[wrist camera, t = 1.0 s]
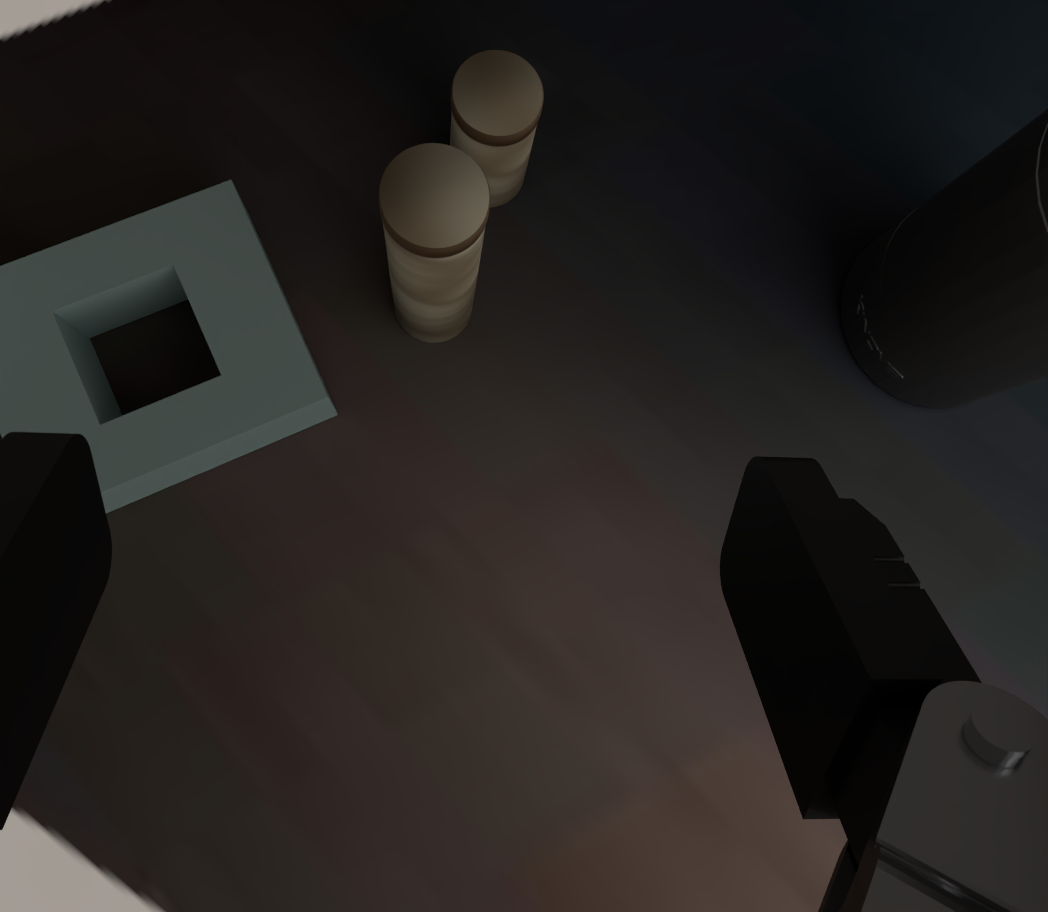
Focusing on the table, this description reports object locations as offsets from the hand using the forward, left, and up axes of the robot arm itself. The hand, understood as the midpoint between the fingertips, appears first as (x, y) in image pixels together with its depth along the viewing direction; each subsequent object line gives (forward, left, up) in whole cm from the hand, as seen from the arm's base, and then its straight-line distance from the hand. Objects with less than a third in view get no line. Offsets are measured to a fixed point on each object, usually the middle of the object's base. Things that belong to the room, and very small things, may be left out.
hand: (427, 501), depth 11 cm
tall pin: (-5, -11, -29) cm, 31 cm away
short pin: (-10, -16, -29) cm, 34 cm away
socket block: (+7, -13, -29) cm, 32 cm away
